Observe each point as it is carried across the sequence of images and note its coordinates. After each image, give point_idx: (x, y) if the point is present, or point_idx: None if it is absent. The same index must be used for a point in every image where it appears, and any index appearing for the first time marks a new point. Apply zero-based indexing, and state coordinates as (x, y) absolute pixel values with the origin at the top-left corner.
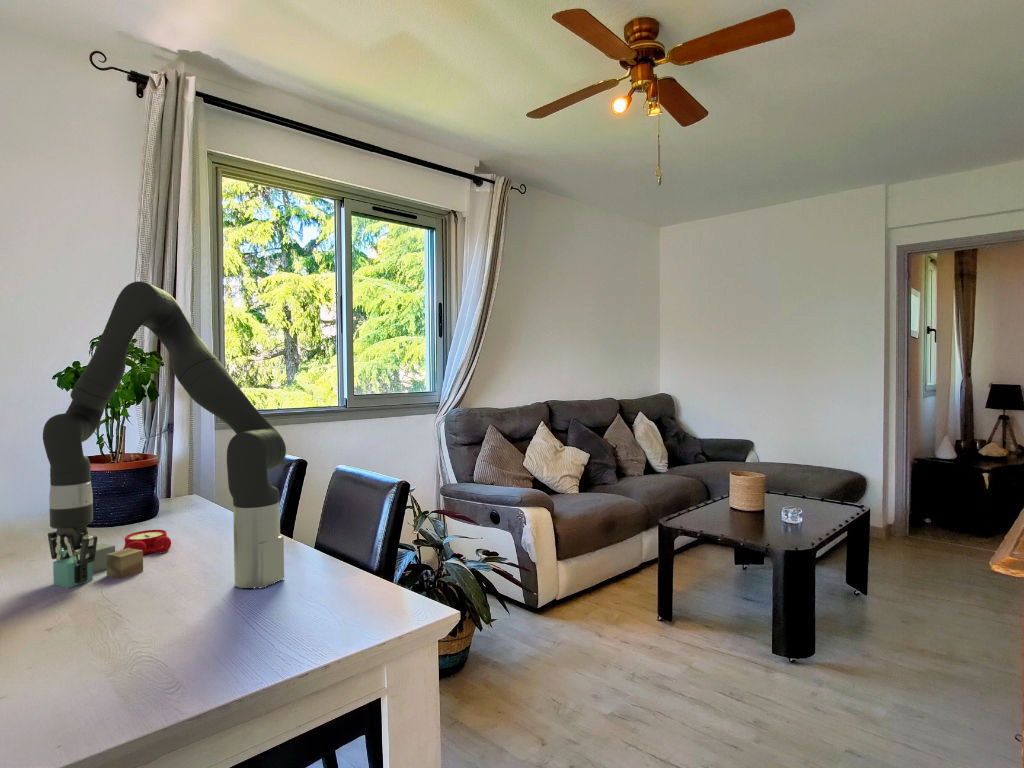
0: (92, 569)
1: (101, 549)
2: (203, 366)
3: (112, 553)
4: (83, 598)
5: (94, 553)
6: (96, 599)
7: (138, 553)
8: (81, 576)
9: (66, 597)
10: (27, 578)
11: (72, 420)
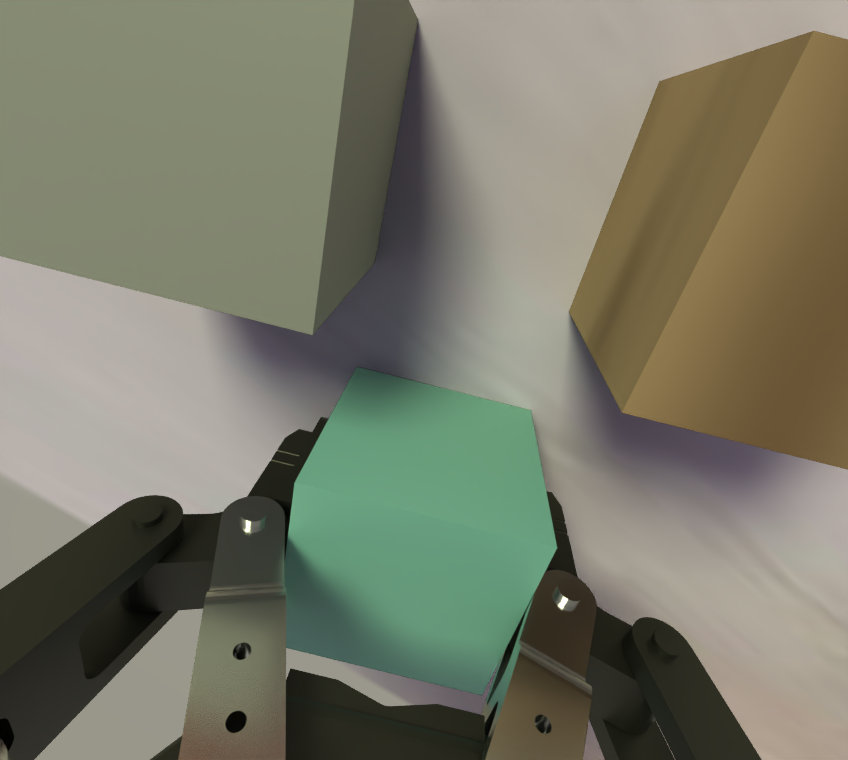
0: (540, 461)
1: (332, 209)
2: None
3: (695, 375)
4: (721, 644)
5: (739, 742)
6: (816, 654)
7: None
8: None
9: None
10: (30, 421)
11: None
